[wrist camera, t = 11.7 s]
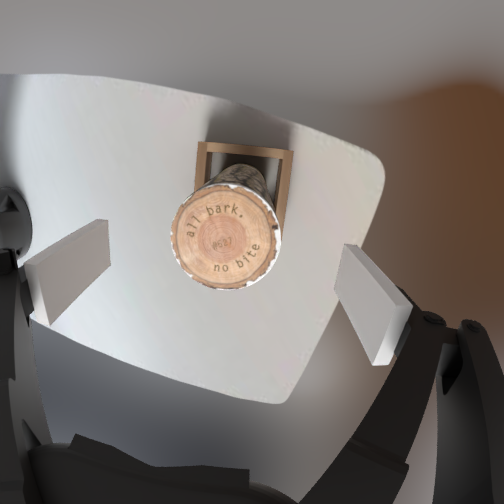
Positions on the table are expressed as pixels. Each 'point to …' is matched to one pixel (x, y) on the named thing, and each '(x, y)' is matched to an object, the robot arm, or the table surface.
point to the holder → (284, 155)
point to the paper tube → (227, 230)
